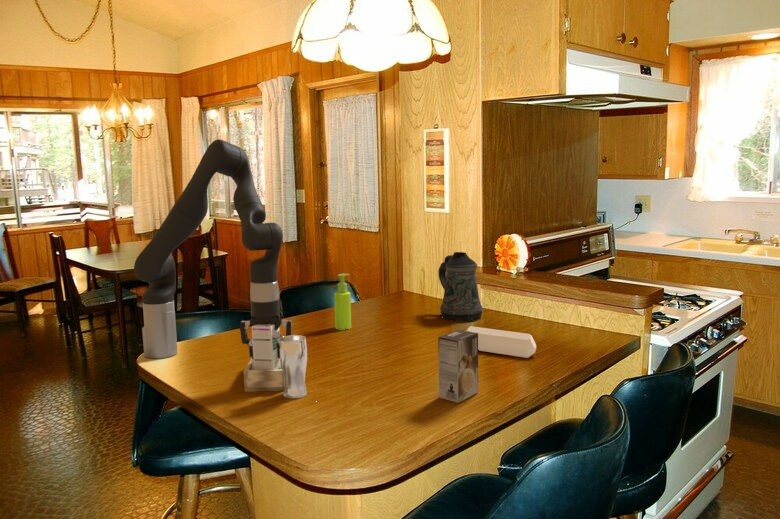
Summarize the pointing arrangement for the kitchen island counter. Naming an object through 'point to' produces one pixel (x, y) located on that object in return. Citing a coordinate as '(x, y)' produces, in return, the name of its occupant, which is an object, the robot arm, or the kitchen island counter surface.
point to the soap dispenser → (342, 305)
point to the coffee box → (458, 365)
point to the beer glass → (293, 365)
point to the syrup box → (265, 347)
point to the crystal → (504, 342)
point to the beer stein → (459, 288)
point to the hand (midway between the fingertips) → (267, 357)
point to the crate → (262, 379)
